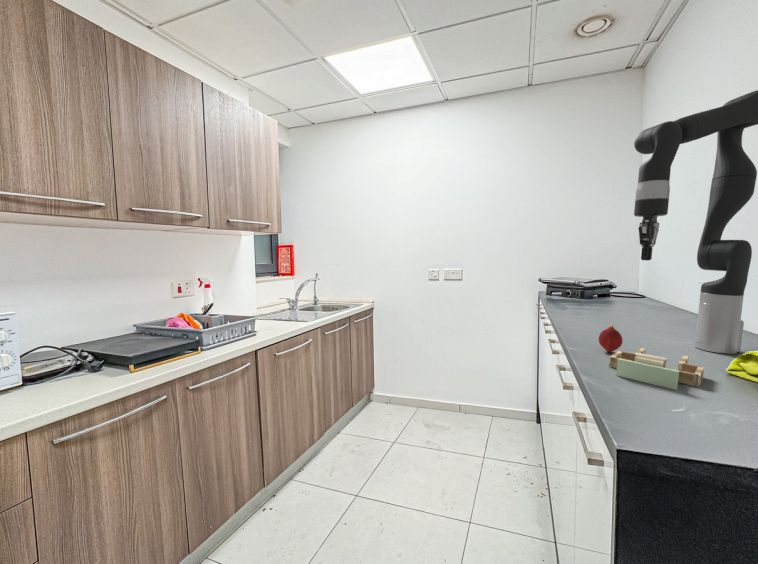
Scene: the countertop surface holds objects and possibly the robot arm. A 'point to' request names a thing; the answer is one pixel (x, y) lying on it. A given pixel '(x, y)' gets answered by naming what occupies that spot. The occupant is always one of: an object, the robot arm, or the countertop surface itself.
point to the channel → (686, 371)
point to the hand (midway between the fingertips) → (646, 260)
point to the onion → (610, 339)
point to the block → (651, 360)
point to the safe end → (648, 373)
